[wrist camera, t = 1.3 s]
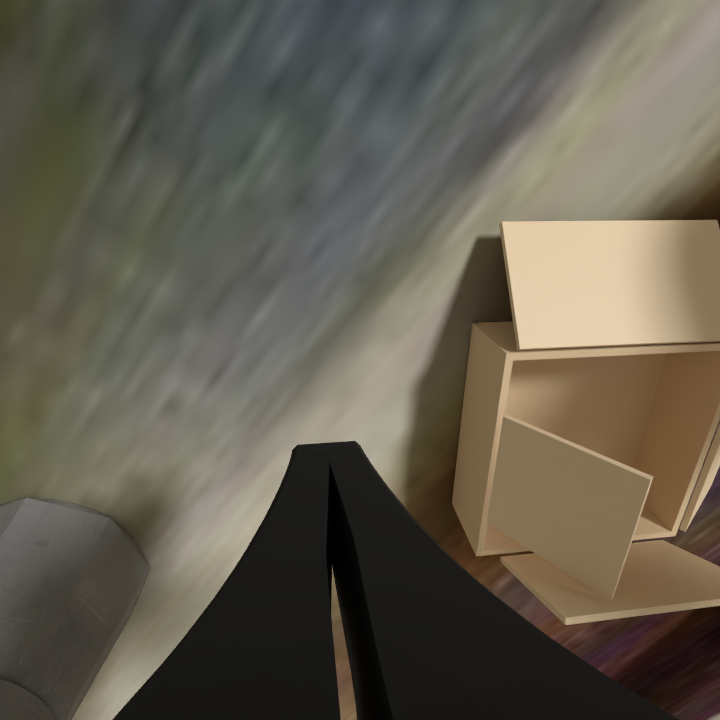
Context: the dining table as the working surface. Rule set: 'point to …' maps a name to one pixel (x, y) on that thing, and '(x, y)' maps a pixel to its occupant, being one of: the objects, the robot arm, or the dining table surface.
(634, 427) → the carton
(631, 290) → the flap
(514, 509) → the flap
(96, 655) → the coffeepot
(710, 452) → the flap
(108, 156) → the dining table surface
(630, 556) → the flap
